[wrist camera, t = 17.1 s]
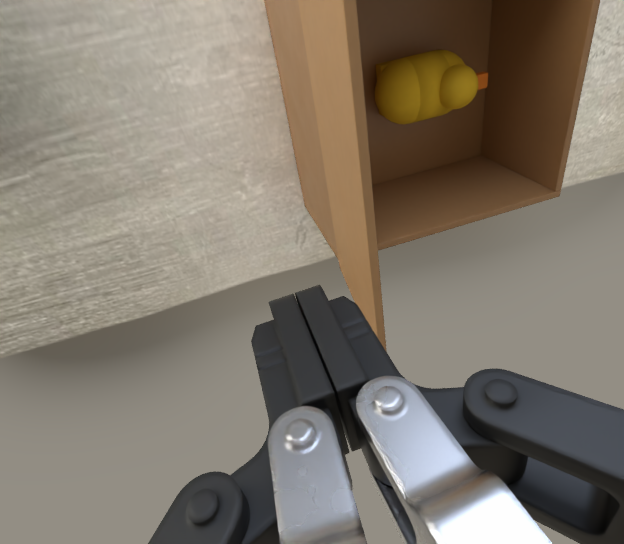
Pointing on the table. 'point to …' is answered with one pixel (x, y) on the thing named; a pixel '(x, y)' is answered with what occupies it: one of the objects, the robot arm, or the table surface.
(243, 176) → the table surface
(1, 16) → the table surface
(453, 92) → the duck
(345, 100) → the flap
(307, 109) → the carton
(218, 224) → the table surface
